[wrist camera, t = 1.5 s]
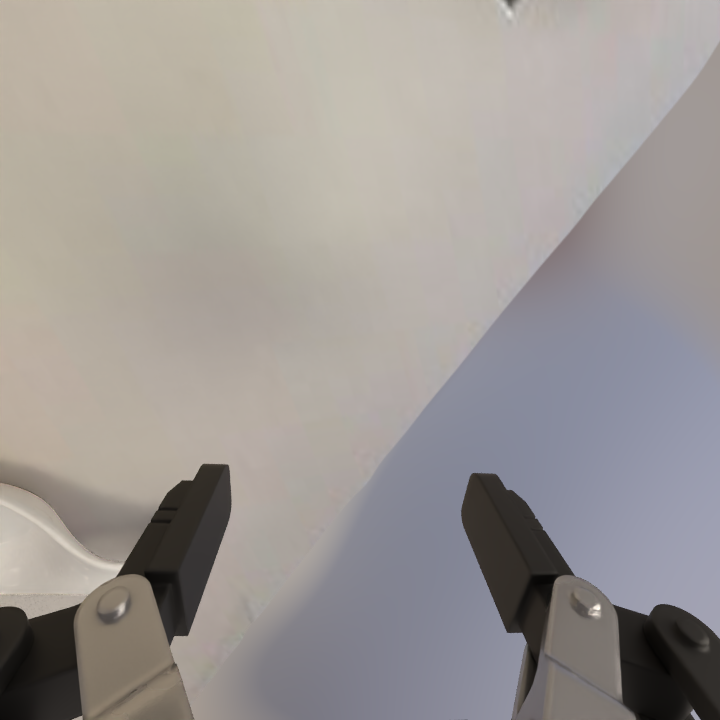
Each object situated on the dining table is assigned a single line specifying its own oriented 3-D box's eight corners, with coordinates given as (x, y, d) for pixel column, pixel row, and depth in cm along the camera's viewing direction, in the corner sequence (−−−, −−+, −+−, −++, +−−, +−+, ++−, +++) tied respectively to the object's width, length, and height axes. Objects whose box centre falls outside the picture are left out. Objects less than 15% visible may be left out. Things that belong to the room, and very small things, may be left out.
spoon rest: (-84, 556, 31) (-170, 647, 25) (-100, 452, 27) (-207, 527, 21) (199, 552, 40) (188, 618, 33) (217, 472, 36) (209, 530, 30)
